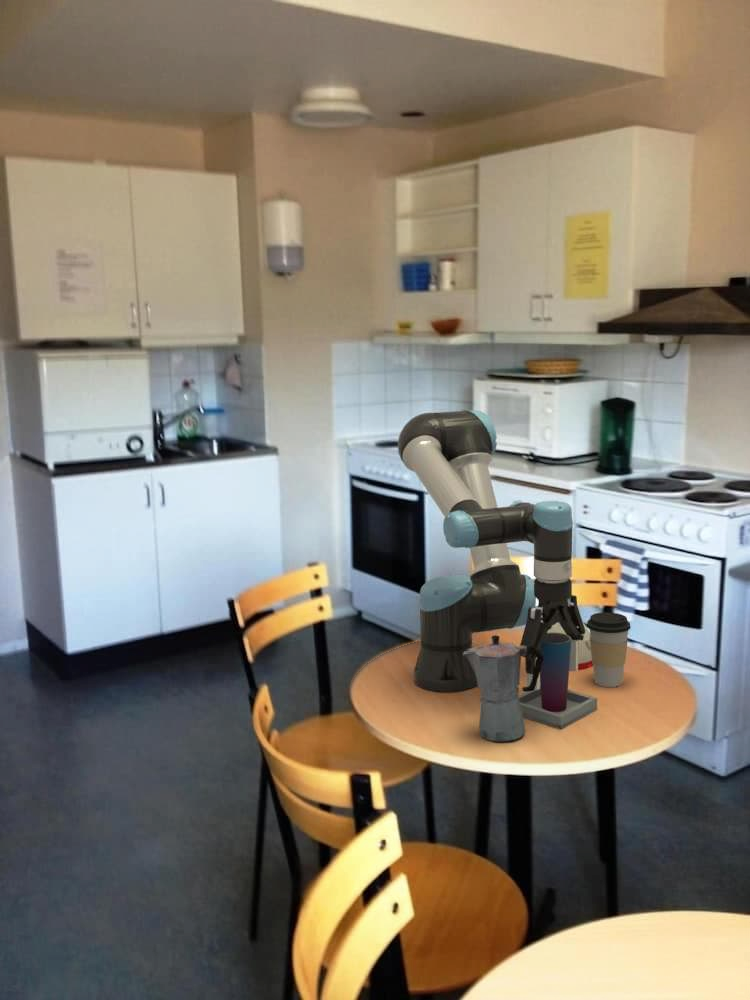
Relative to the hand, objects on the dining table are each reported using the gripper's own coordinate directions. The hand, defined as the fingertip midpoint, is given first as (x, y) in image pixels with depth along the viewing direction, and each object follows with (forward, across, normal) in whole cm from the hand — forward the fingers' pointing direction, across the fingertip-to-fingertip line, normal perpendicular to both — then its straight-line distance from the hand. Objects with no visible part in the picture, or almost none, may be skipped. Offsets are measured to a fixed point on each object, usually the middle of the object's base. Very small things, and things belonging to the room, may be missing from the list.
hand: (552, 678), depth 192 cm
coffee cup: (+7, +21, 0) cm, 22 cm away
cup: (+6, 0, 0) cm, 6 cm away
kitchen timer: (+7, +27, +15) cm, 32 cm away
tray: (+7, 0, 0) cm, 7 cm away
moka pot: (+7, -15, +1) cm, 17 cm away
